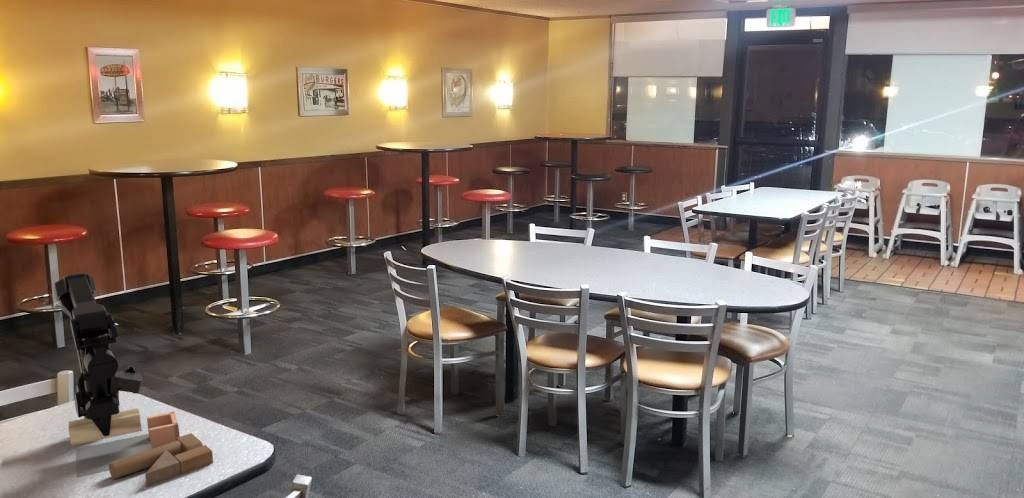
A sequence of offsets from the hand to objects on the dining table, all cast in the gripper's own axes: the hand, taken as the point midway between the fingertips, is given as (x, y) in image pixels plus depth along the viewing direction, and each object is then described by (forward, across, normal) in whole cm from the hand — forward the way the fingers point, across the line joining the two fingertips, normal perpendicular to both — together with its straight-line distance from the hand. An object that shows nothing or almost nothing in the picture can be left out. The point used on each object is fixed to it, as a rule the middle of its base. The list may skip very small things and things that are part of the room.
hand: (106, 431), depth 174 cm
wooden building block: (+1, 0, 0) cm, 1 cm away
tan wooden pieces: (+3, -12, -19) cm, 22 cm away
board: (+6, -2, -4) cm, 7 cm away
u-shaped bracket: (+6, 0, -11) cm, 12 cm away
